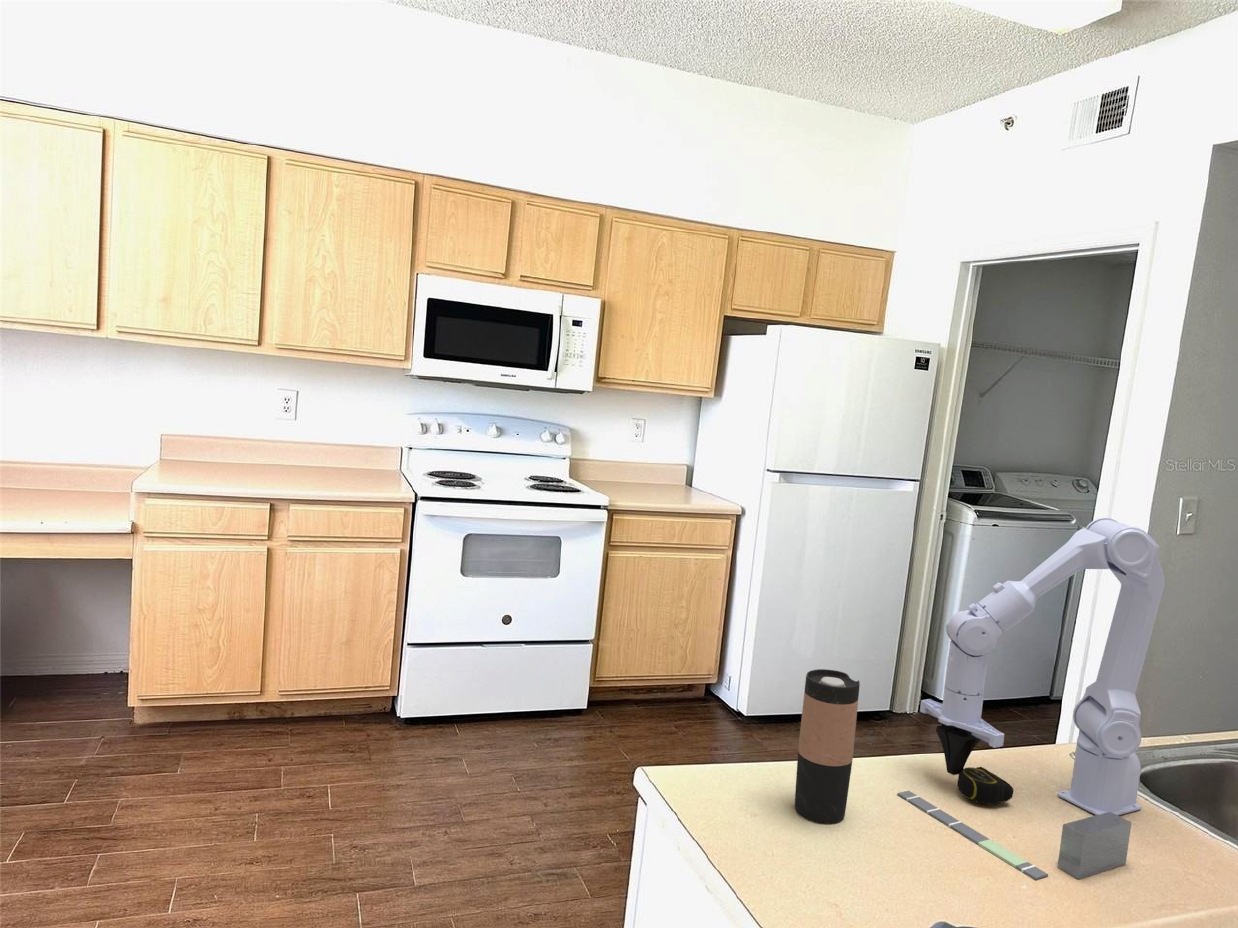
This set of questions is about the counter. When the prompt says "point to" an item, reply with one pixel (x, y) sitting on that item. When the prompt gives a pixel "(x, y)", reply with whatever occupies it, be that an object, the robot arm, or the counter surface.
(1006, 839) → the counter surface
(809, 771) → the travel mug
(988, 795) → the tape measure
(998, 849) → the scale strip
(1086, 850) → the charcoal grey brick
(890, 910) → the counter surface
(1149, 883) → the counter surface
